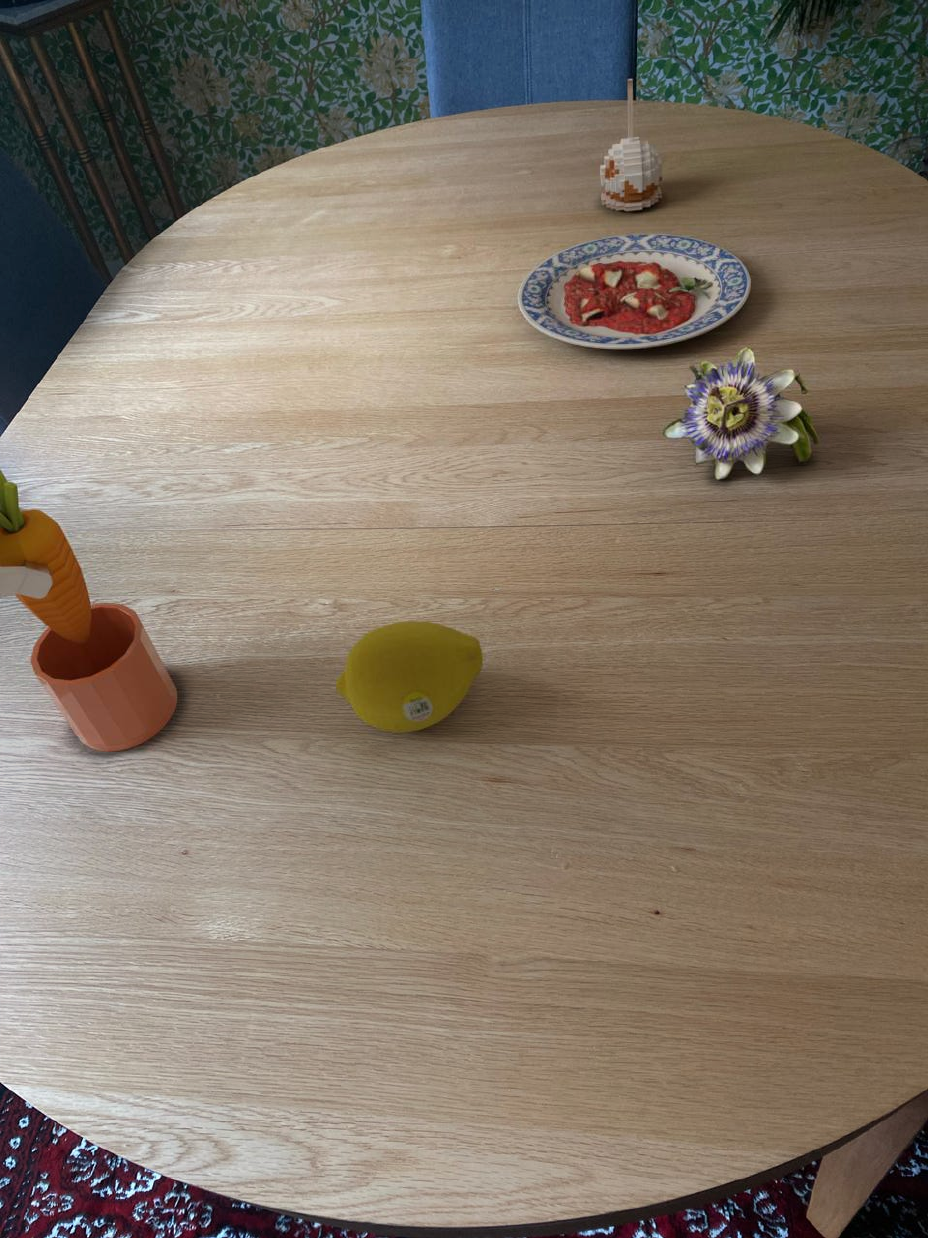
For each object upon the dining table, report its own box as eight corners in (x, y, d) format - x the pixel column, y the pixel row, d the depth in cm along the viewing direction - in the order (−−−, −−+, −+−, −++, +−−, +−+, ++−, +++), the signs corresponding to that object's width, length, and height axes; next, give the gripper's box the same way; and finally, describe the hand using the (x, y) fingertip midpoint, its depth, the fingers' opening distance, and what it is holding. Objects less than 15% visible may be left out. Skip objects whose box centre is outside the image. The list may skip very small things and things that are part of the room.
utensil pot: (69, 761, 75) (22, 694, 69) (82, 682, 81) (40, 614, 75) (174, 740, 75) (136, 672, 70) (180, 662, 81) (145, 593, 75)
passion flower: (720, 520, 92) (644, 443, 86) (735, 435, 98) (664, 357, 92) (832, 484, 84) (757, 395, 78) (842, 394, 90) (772, 304, 84)
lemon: (343, 758, 72) (318, 688, 66) (352, 677, 77) (329, 606, 72) (490, 746, 71) (477, 674, 65) (489, 665, 76) (477, 592, 71)
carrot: (92, 672, 70) (-7, 510, 59) (37, 661, 71) (-70, 501, 61) (130, 622, 73) (42, 460, 62) (75, 612, 74) (-19, 452, 64)
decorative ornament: (599, 192, 133) (596, 73, 123) (657, 186, 132) (659, 64, 122) (603, 217, 128) (599, 94, 117) (664, 211, 127) (665, 86, 116)
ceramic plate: (493, 359, 107) (490, 334, 105) (548, 249, 124) (547, 226, 122) (735, 371, 100) (737, 345, 98) (760, 252, 116) (762, 227, 114)
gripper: (-186, 552, 49) (83, 615, 58) (-172, 369, 63) (44, 443, 72) (-223, 645, 52) (41, 691, 61) (-202, 449, 65) (11, 511, 74)
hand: (42, 555), depth 66 cm, fingers closed on carrot, 5 cm apart
